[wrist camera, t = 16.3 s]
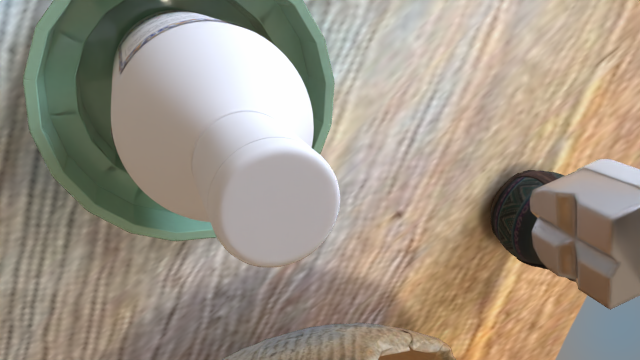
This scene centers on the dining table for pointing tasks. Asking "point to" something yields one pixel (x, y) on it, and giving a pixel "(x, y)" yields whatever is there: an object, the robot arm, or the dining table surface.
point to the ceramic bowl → (348, 345)
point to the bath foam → (222, 135)
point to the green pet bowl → (96, 87)
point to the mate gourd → (519, 214)
